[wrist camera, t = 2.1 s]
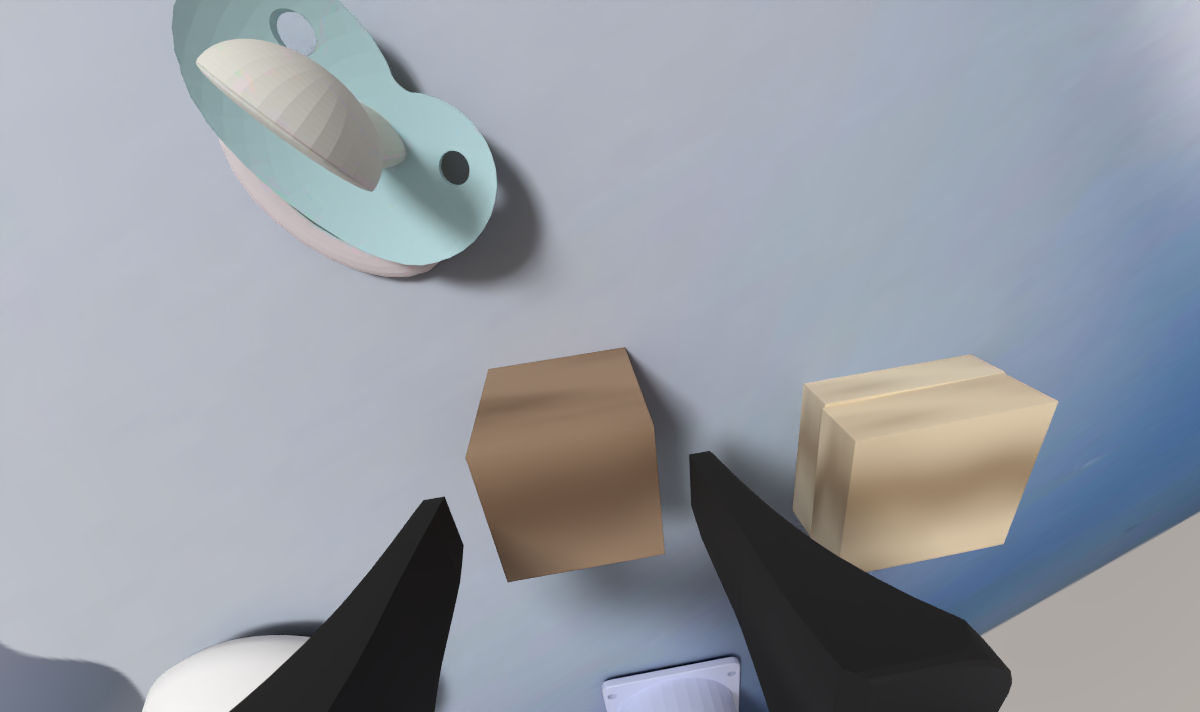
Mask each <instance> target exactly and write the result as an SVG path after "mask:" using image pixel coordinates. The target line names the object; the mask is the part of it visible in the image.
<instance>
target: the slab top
mask: <svg viewBox="0 0 1200 712" xmlns="http://www.w3.org/2000/svg"><path fill="white" fill-rule="evenodd" d="M1057 404H1058V401H1057V400H1055V399H1053V398H1051V397H1049V396H1047V395H1045V394H1043V393H1041V392H1039V391H1037V390H1035V389H1034V388H1032V387H1030V386H1028V385H1026V384H1024V383H1022V382H1020V381H1018V380H1016V379H1014V378H1012V377H1010V376H1008V375H1006V374H1004V373H1000V374H994V375H989V376H984V377H979V378H974V379H969V380H964V381H959V382H953V383H948V384H943V385H938V386H933V387H928V388H923V389H918V390H912V391H907V392H902V393H897V394H892V395H887V396H882V397H877V398H871V399H866V400H861V401H856V402H851V403H846V404H841V405H836V406H830V407H825V408H822V414H821V425H820V436H819V447H818V458H817V469H816V480H815V491H814V503H813V515H812V526H811V536H810V538H811V539H813V540H814V541H816V542H817V543H819V544H820V545H822V546H823V547H825V548H826V549H828V550H829V551H831V552H833V553H834V554H836V555H837V556H839V557H841V558H842V559H844V560H846V561H847V562H849V563H851V564H853V565H854V566H856V567H858V568H859V569H861V570H863V571H865V572H869V571H874V570H879V569H884V568H889V567H894V566H898V565H903V564H908V563H913V562H918V561H923V560H928V559H933V558H938V557H942V556H947V555H952V554H957V553H962V552H967V551H972V550H977V549H982V548H986V547H991V546H996V545H1001V544H1004V541H1005V538H1006V536H1007V533H1008V531H1009V528H1010V526H1011V523H1012V520H1013V518H1014V515H1015V513H1016V510H1017V507H1018V505H1019V502H1020V500H1021V497H1022V494H1023V492H1024V489H1025V487H1026V484H1027V482H1028V479H1029V476H1030V474H1031V471H1032V469H1033V466H1034V463H1035V461H1036V458H1037V456H1038V453H1039V450H1040V448H1041V445H1042V443H1043V440H1044V438H1045V435H1046V432H1047V430H1048V427H1049V425H1050V422H1051V419H1052V417H1053V414H1054V412H1055V409H1056V406H1057Z"/></svg>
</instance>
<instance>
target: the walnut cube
mask: <svg viewBox="0 0 1200 712" xmlns="http://www.w3.org/2000/svg"><path fill="white" fill-rule="evenodd" d="M466 460H467V463H468V466H469V469H470V472H471V475H472V478H473V481H474V484H475V487H476V490H477V493H478V496H479V499H480V502H481V505H482V508H483V511H484V514H485V517H486V520H487V523H488V526H489V528H490V531H491V534H492V537H493V540H494V543H495V546H496V549H497V552H498V555H499V558H500V561H501V564H502V567H503V570H504V573H505V576H506V579H507V582H512V581H518V580H523V579H529V578H534V577H540V576H545V575H551V574H557V573H562V572H568V571H573V570H579V569H584V568H590V567H596V566H601V565H607V564H612V563H618V562H623V561H629V560H635V559H640V558H646V557H651V556H657V555H662V554H665V550H664V539H663V527H662V515H661V503H660V492H659V480H658V468H657V456H656V445H655V433H654V425H653V422H652V419H651V417H650V414H649V411H648V409H647V406H646V403H645V400H644V398H643V395H642V392H641V390H640V387H639V384H638V381H637V379H636V376H635V373H634V371H633V368H632V365H631V363H630V360H629V357H628V354H627V352H626V349H625V347H624V348H618V349H611V350H605V351H599V352H593V353H587V354H580V355H574V356H568V357H562V358H555V359H549V360H543V361H537V362H531V363H524V364H518V365H512V366H506V367H499V368H493V369H488V373H487V377H486V381H485V385H484V389H483V392H482V396H481V400H480V404H479V408H478V411H477V415H476V419H475V423H474V427H473V431H472V434H471V438H470V442H469V446H468V450H467V454H466Z"/></svg>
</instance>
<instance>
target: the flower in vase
mask: <svg viewBox="0 0 1200 712" xmlns="http://www.w3.org/2000/svg"><path fill="white" fill-rule="evenodd" d="M309 638H310V637H305V636H292V635H266V636H254V637H247V638H240V639H235V640H230V641H226V642H222V643H219V644H216V645H213V646H210V647H208V648H205V649H203V650H201V651H199V652H197V653H195V654H193V655H192V656H190V657H188V658H187V659H185V660H183V661H182V662H180V663H178V664H176V665H175V666H173V667H172V668H170V669H169V670H167V671H166V672H164V673H163V674H162V675H161V676H160V677H159V678H158V679H157V680H156V681H155V683H154V684H153V685H152V687H151V688H150V690H149V693H148V695H147V698H146V701H145V704H144V707H143V711H142V712H229V711H230V710H232V709H233V708H234V707H235V706H236V705H238V704H239V703H240V702H241V701H242V700H243V699H245V698H246V697H247V696H248V695H249V694H250V693H251V692H253V691H254V690H255V689H256V688H257V687H258V686H259V685H261V684H262V683H263V682H264V681H265V680H266V679H267V678H268V677H270V676H271V675H272V674H273V673H274V672H275V671H276V670H277V669H278V668H279V667H280V666H281V665H282V664H283V663H284V662H285V661H286V660H287V659H289V658H290V657H291V656H292V655H293V654H294V653H295V652H296V651H297V650H298V649H299V648H300V647H301V646H302V645H303V644H304V643H305V642H306V641H307V640H308V639H309Z"/></svg>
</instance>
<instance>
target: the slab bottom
mask: <svg viewBox="0 0 1200 712" xmlns="http://www.w3.org/2000/svg"><path fill="white" fill-rule="evenodd" d="M1000 373H1004V374H1005V373H1006V372H1004V371H1002V370H1000V369H998V368H996V367H994V366H992V365H990V364H988V363H986V362H984V361H982V360H980V359H979V358H977V357H975V356H973V355H971V354H970V355H965V356H959V357H953V358H947V359H942V360H936V361H930V362H925V363H919V364H913V365H907V366H902V367H896V368H890V369H885V370H879V371H873V372H867V373H862V374H856V375H850V376H844V377H839V378H833V379H827V380H822V381H816V382H810V383H804V386H803V397H802V408H801V420H800V431H799V442H798V453H797V465H796V476H795V487H794V498H793V511H794V513H795V515H796V516H797V518H798V519H799V521H800V522H801V524H802V525H803V527H804V528H805V530H806V531H807V533H808V534H809V536H811V526H812V515H813V503H814V491H815V480H816V469H817V458H818V447H819V436H820V425H821V414H822V408H825V407H830V406H836V405H841V404H846V403H851V402H856V401H861V400H866V399H871V398H877V397H882V396H887V395H892V394H897V393H902V392H907V391H912V390H918V389H923V388H928V387H933V386H938V385H943V384H948V383H953V382H959V381H964V380H969V379H974V378H979V377H984V376H989V375H994V374H1000Z"/></svg>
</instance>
